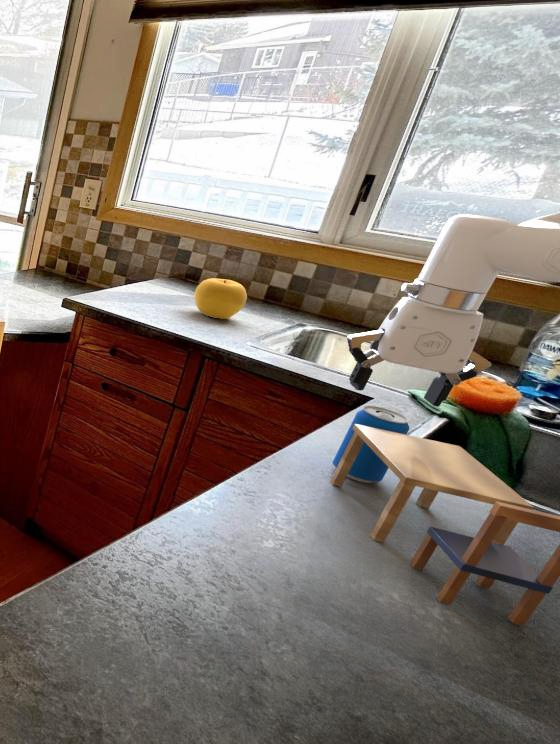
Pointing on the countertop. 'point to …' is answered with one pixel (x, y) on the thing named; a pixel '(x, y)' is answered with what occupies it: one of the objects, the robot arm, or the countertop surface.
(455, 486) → the dining table
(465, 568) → the chair
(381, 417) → the beverage can
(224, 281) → the apple
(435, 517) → the countertop surface
